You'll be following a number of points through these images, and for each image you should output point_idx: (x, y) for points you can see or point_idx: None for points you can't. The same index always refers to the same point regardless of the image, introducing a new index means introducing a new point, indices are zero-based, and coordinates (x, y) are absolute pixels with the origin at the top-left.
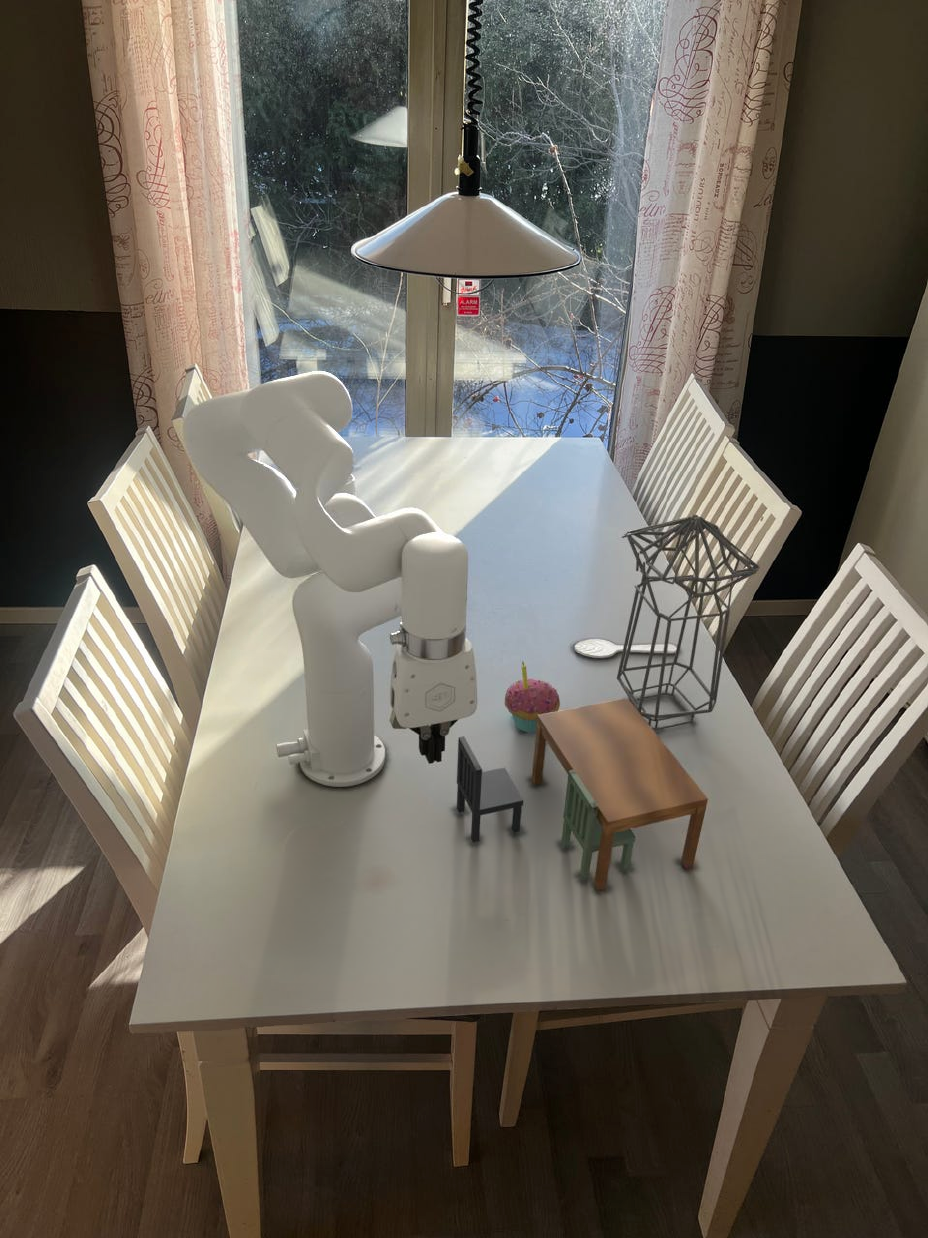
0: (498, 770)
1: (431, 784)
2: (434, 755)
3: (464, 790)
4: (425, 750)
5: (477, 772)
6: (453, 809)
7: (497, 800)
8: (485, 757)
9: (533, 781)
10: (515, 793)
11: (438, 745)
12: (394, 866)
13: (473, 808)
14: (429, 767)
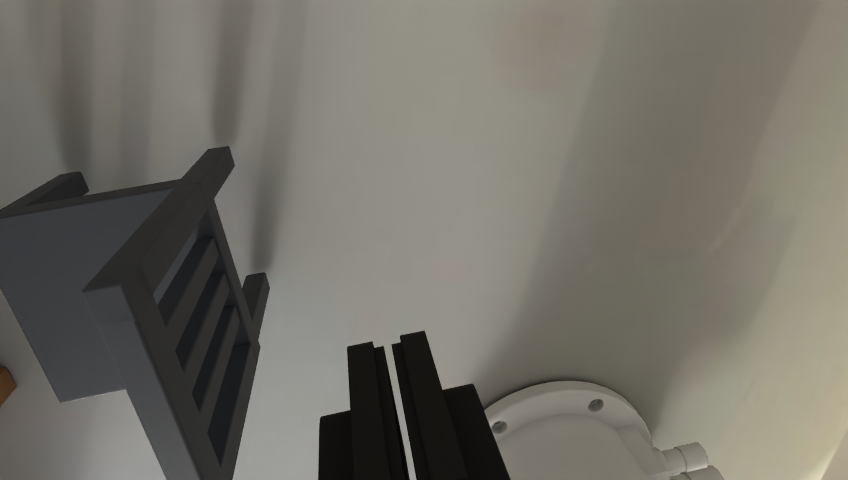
0: (86, 388)
1: (333, 382)
2: (399, 374)
3: (233, 297)
4: (461, 411)
5: (119, 277)
6: (279, 289)
7: (92, 234)
8: None
9: (5, 379)
10: (7, 266)
11: (380, 438)
12: (486, 84)
13: (201, 194)
14: None
